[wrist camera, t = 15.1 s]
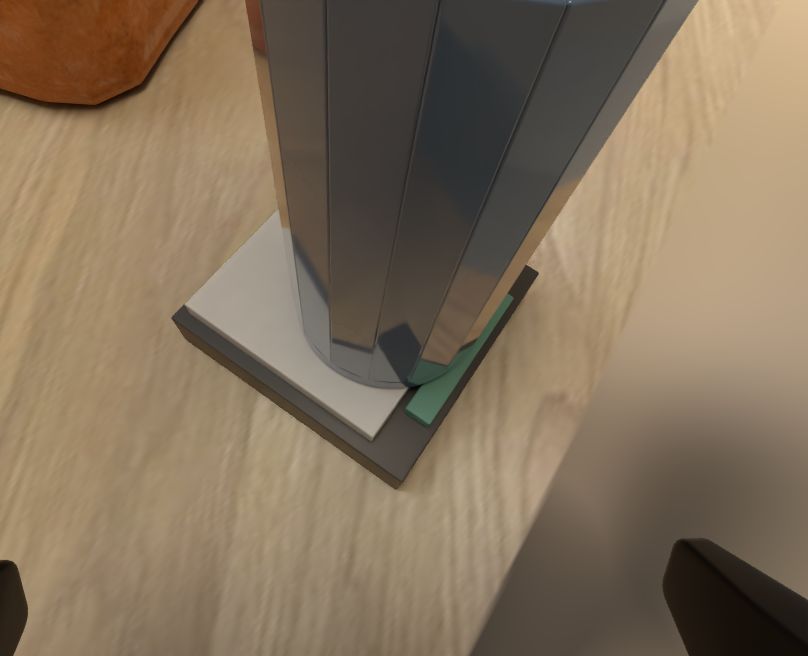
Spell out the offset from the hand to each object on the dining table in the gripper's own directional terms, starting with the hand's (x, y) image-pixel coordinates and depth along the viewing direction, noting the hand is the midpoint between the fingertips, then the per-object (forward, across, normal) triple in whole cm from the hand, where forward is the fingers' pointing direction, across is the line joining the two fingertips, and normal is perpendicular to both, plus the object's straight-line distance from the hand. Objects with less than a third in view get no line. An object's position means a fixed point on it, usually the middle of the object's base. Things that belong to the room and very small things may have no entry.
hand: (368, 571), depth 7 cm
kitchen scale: (+15, -1, +2) cm, 15 cm away
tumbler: (+13, -1, 0) cm, 13 cm away
